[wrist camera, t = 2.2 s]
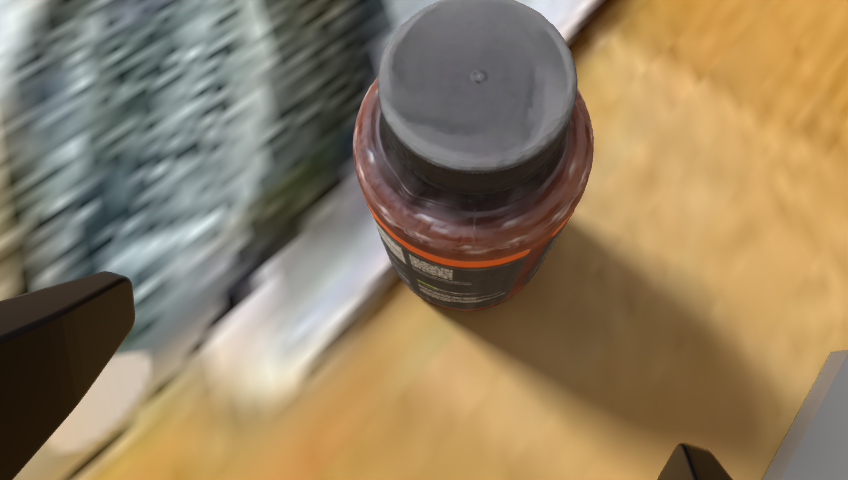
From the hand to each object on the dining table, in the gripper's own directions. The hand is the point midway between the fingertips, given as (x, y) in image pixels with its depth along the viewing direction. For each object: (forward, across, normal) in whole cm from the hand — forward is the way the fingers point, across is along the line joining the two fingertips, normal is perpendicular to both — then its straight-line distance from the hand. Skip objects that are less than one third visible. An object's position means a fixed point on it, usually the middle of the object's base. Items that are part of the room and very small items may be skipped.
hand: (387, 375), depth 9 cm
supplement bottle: (+13, 0, +4) cm, 14 cm away
